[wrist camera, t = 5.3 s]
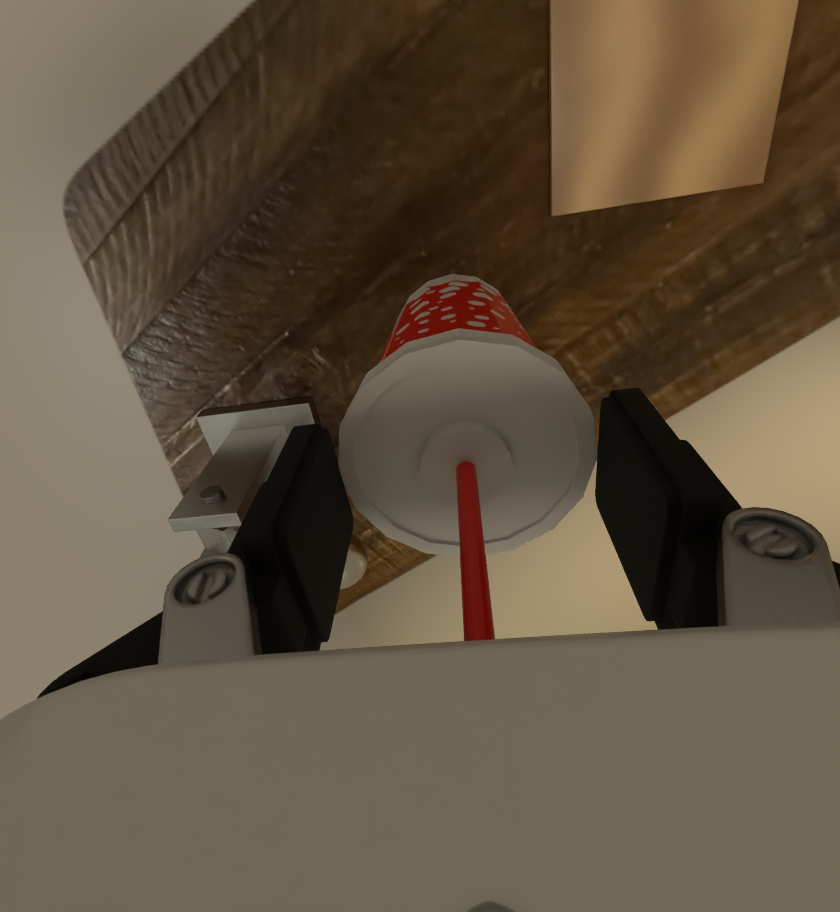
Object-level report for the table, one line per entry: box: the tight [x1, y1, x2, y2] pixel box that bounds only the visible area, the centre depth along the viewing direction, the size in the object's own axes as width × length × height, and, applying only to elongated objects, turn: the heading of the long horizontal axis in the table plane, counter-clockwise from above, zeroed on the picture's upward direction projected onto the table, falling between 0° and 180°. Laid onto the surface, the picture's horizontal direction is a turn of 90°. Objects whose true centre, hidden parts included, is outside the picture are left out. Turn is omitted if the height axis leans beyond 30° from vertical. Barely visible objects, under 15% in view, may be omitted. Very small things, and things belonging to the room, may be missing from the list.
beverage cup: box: [339, 274, 597, 641], centre depth 13 cm, size 6×6×14 cm
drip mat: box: [548, 0, 799, 217], centre depth 27 cm, size 12×10×1 cm
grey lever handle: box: [197, 526, 368, 589], centre depth 30 cm, size 12×3×3 cm, turn 99°
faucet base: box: [168, 397, 321, 558], centre depth 35 cm, size 9×8×12 cm
